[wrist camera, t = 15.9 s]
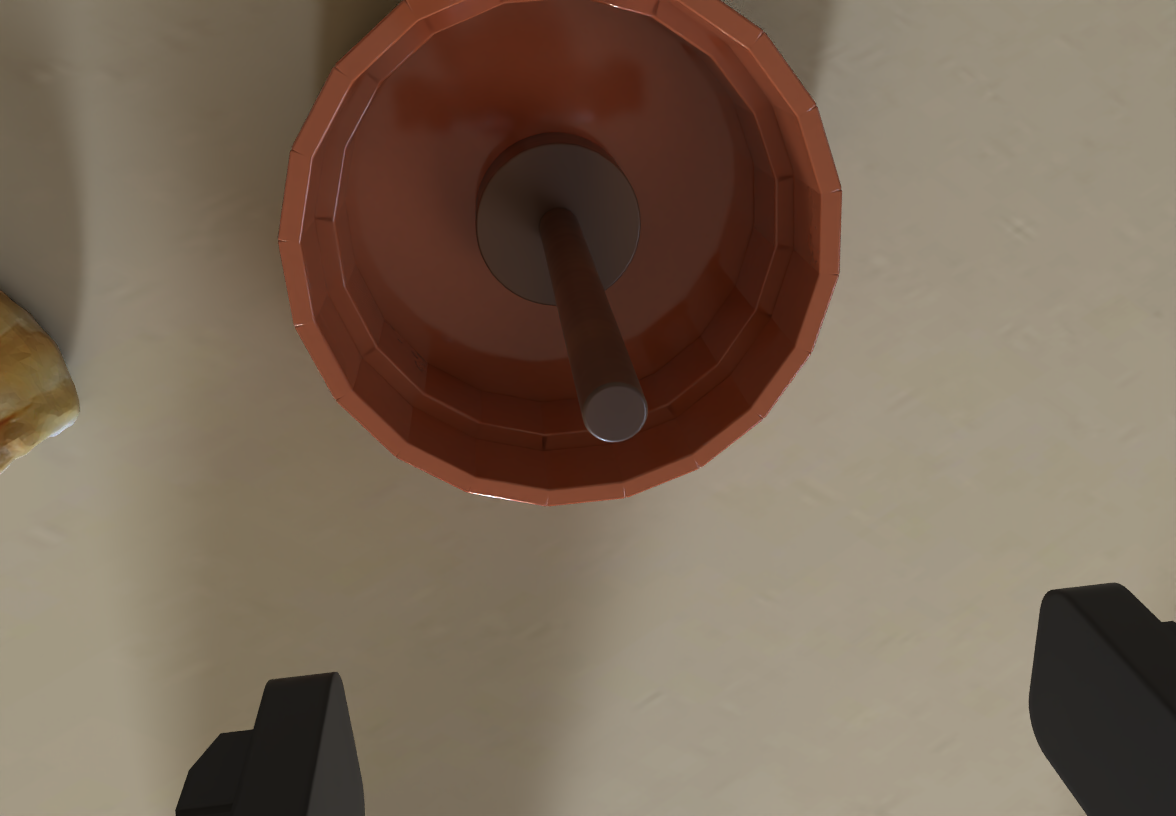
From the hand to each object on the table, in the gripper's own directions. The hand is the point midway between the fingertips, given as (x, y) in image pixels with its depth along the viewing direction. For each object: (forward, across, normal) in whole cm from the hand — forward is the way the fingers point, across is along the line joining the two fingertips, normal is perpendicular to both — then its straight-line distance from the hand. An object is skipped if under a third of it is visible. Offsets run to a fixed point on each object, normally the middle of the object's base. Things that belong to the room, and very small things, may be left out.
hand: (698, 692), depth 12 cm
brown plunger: (+24, 0, 0) cm, 24 cm away
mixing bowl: (+24, 0, 0) cm, 24 cm away
